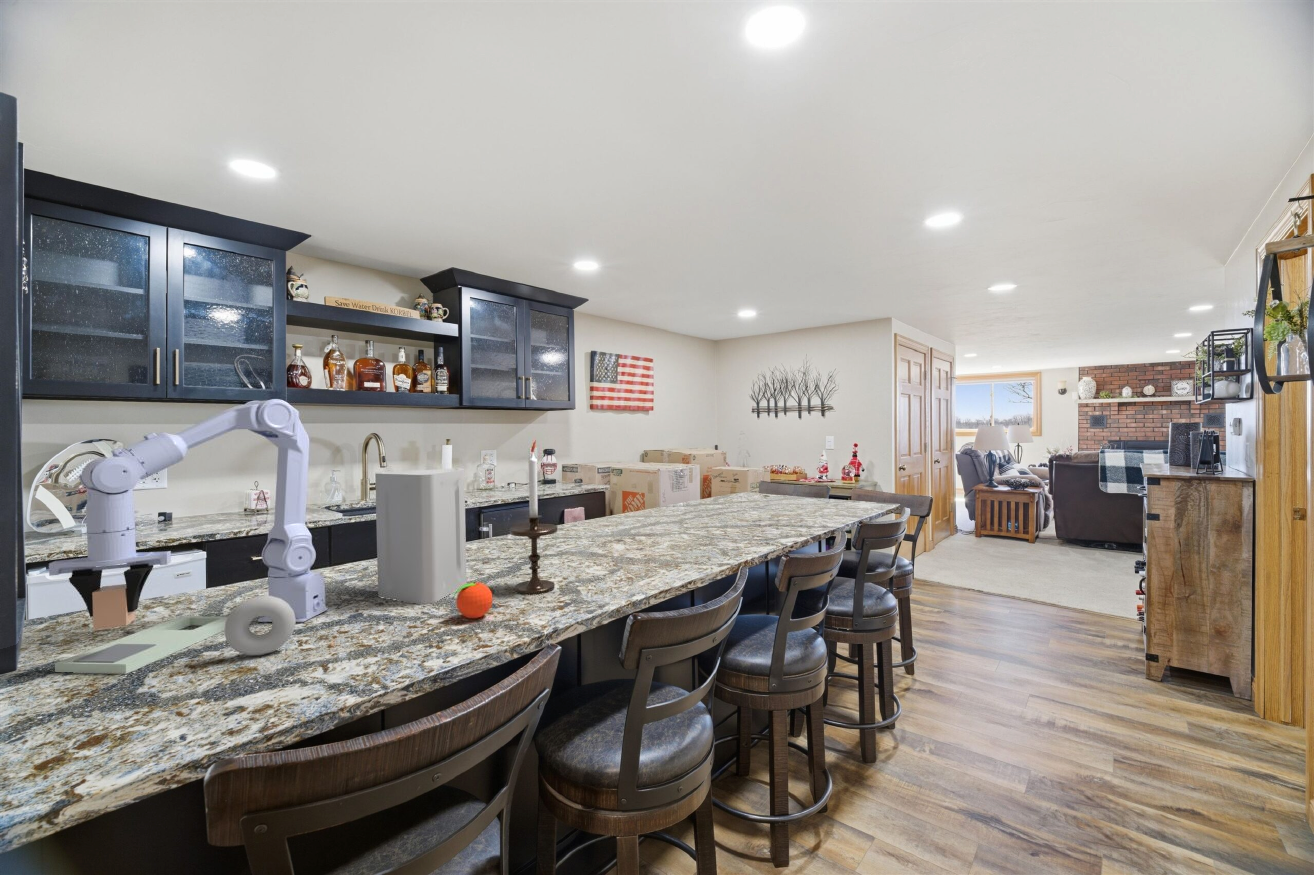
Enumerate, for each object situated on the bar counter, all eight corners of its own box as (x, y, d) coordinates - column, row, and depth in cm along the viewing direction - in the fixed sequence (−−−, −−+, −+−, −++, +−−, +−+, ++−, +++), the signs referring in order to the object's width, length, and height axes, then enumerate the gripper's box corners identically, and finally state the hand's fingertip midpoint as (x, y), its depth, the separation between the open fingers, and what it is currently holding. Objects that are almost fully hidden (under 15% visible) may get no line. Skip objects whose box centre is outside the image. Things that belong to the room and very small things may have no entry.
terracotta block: (135, 618, 96) (134, 583, 96) (126, 625, 92) (125, 588, 92) (104, 622, 94) (102, 586, 94) (93, 629, 91) (92, 592, 91)
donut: (222, 664, 92) (221, 603, 92) (227, 656, 95) (225, 597, 95) (295, 652, 97) (294, 594, 97) (297, 645, 100) (296, 589, 100)
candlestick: (557, 581, 139) (555, 438, 138) (559, 593, 128) (556, 439, 128) (511, 584, 137) (509, 439, 136) (510, 597, 126) (507, 440, 125)
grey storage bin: (379, 610, 118) (376, 476, 118) (378, 592, 131) (375, 472, 131) (474, 597, 127) (471, 472, 126) (464, 581, 140) (461, 468, 139)
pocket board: (238, 624, 111) (238, 615, 111) (126, 673, 89) (125, 663, 89) (180, 623, 112) (180, 615, 112) (55, 672, 90) (54, 661, 90)
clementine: (459, 627, 108) (459, 590, 108) (445, 618, 113) (445, 583, 113) (499, 617, 113) (498, 582, 113) (484, 609, 118) (483, 575, 118)
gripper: (175, 522, 100) (177, 599, 100) (63, 530, 93) (65, 612, 93) (162, 529, 93) (164, 610, 94) (40, 538, 87) (43, 625, 87)
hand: (114, 612), depth 93 cm, fingers closed on terracotta block, 4 cm apart
